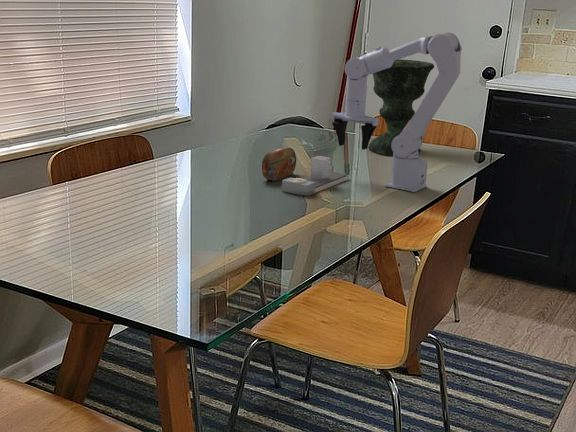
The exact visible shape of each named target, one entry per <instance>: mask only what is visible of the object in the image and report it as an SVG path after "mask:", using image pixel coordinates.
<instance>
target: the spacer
mask: <svg viewBox="0 0 576 432" xmlns="http://www.w3.org/2000/svg"><path fill="white" fill-rule="evenodd" d="M331 159H332V158H331V157H329V156H323V155H322V156H321V155H317V156H313V157H310V176H311V177H310V179H315V180H320V181H324V180H327V179H329V178H330V171H331Z"/></svg>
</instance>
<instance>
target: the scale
mask: <svg viewBox="0 0 576 432" xmlns="http://www.w3.org/2000/svg"><path fill="white" fill-rule="evenodd" d="M310 177H311V175H309V176H306V177H304V178H301V177H296V178H295V177H286V178H284V179H282V180H281V181H282V182H281V191H282V192H285V193H290V194H293V195H294V194H295V195H299V196H303V195H306V196H305V197H308V196H311V195H314V194H315V193H318V192H320V191H323V190H326V189H328V188H331V187H333V186H336V185H338V184H340V183H342V182H345V181H349V179H350V175H348V174H345V173H341V172H336V171H331V170H330V178H329V179H327V180H324V181H320V180H315V179H310ZM307 195H308V196H307Z"/></svg>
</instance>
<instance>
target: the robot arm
mask: <svg viewBox="0 0 576 432" xmlns="http://www.w3.org/2000/svg"><path fill="white" fill-rule="evenodd" d="M462 50H463V48H462V45H461V43H460V40H459V38H458V36H457V35H456V34H455V33H452V32H445V33H438V34H434V35H430V36H425V37H420V38H417V39H415V40H412V41H410V42H407V43H405V44H402V45H400V46H397V47H395V48H393V49H392V48H391V49H389V48H388V47H382V46H377V47H375V49H374V50H373V51H370V52H368V53H365V52H362V53H360V54H359V57H352V58H351V59H348V60H347V61H346V63H345V65H344V73H345V75H346V76H347V77H346V88H345V89H346V90H345V91H346V92H345V107H344V108H345V109H344V112H336V111H335V112H331V115H330V117H331V118H330V120H332V126H333V128H334V130H335V134H336V137H337V142H338V146H339V147H341V146H344V145H345V142H346V132H347V126H348V122H350V123H355V124H356V123H357V124H362V125H361V126H360V129H361V150H363V151H364V150H367V149H369V148H368V147H369V144H370V142H371V141H370V140H371V138H372V136H373V134H374V132H375V131H376V129H377V127H378V126H379V123H380V118H379V117H373V116H369V115H366V105H367V104H366V102H367V89H368V88H367V87H368V83H367V82H368V76H369V75H373V73H376V72H379V71H381V70H384V69H387V68H390V67H391V66H392V64H393V62H394V61H395V60H398V59H403V58H406V57H410V56H413V55H416V54H419V53H420V54H423V55H429V56H430V57H431V58H432V60H433V61H434V62H435V64H436V68H437V70H438V74H437V76H436V78H435V80H434V81H433V82H432V84H431V86H430V88H429V89H428V91H427V92H426V95H425V96H424V98H423V99H422V101H421V102H420V104H419V106H418V108H417V109H416V111H415V114H414V116H413V117H412V119H411V120H409V122H408V123H407V125H406V127H405V128H404V129H403V131H402V132H401V133H400V134H399V135H398V136H396V137H395V138H394V139H393V141H392V144H391V148H392V151H393V156H392V165H391V166H392V167H391V178H390V179H391V180H390V182H388V183H385V185H384V186H385V187H388V188H393V189H398V190H403V191H408V192H414V193H416V192H419V191H420V190H423V189H425V188H426V187H427V186H428V185H427V175H428V174H427V173H428V162H427V160H426V159H424V158H421V157H420V154H419V153H420V152H419V153H418V149H420V150H421V147H422V146H423V139H424V136H425V135H426V131H427V128H428V127H429V125H430V123H431V122H432V120H433V118H434V116H435V115H436V114H437V112H438V111H439V109H440V107H441V106H442V104H443V102H444V101H445V99H446V97H447V96H448V94H449V93H450V92H451V90H452V88H453V86H454V84H455V83H456V81H457V80H458V78H459V76H460V74H461V58H462V57H461V55H462Z"/></svg>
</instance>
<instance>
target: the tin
mask: <svg viewBox="0 0 576 432" xmlns="http://www.w3.org/2000/svg"><path fill="white" fill-rule="evenodd" d="M296 164H297V155H296V152H295V150H294V149H293V148H292V147H281V148H278V149H275V150H272V151H268V152H266V154H265V155H264V156H263V158H262V161H261V171H262V176H263V177H264V178H265V180H268V181H273V182H276V181H280V180H281V179H282V180H283V179H286V178H288V177H289V176H292V174H293V173H294V172H295V169H296V166H297V165H296Z"/></svg>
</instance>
